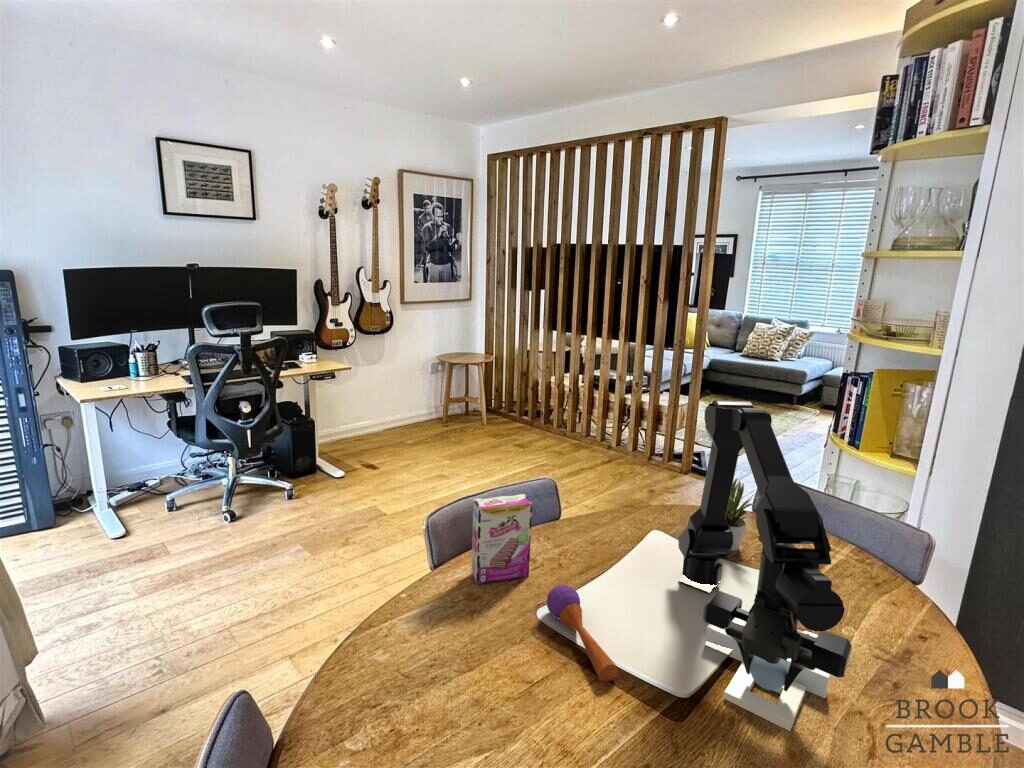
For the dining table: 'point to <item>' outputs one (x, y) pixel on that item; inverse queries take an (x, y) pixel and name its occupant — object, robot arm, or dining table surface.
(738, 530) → the house plant
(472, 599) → the dining table surface
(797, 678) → the divider wall
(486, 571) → the candy bar box
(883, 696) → the dining table surface
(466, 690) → the dining table surface
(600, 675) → the kendama
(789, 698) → the white rectangular frame
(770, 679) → the ball
